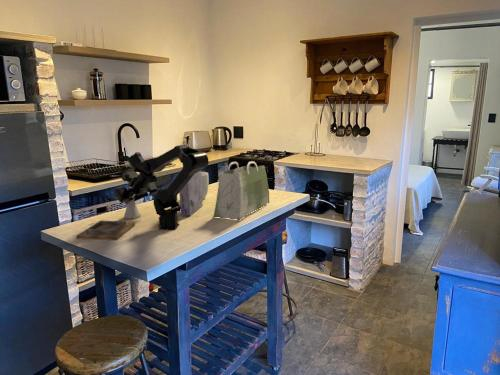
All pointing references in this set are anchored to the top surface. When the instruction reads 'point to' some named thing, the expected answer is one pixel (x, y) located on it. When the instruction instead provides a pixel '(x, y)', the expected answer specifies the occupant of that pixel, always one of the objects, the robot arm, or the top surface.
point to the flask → (132, 210)
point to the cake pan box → (191, 195)
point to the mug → (204, 184)
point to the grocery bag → (241, 191)
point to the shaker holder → (106, 230)
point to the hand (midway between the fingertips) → (129, 202)
